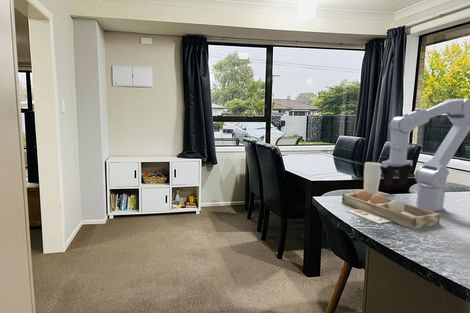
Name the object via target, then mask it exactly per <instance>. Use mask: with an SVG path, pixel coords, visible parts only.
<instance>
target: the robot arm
mask: <svg viewBox="0 0 470 313" xmlns="http://www.w3.org/2000/svg"><path fill="white" fill-rule="evenodd" d="M443 114H446V116H447V117H448V120H449V121H450V122H451V123H452V126H451V128H450V129H449V131H448V133H447V134H446V136H445V138H444V139H443V141H441V142H442V143H441V144H440V145H439V147H438V148H437V150H436V152H435V153H434V154H433V156H432V158H431V159H430V160H428V161H425V162H424V163H422V165H421V166H420V167H418V168H417V169H416V171H415V172H414V179H415V181H416V183H417V185H418V186H417V192H416V193H417V195H416V202H415V203H416V204H411V205H412V206H415V207H418V208H422V209H425V210H429V211H432V212H435V213H436V212H440V211H445V210H446V208H444V203H445V196H446V195H445V194H446V193H445V190H444V188H443V186H445V184H446V182H447V179H448V175H450V171H449V169H448V167H447V166H448V164H449V163H450V161H451V160H452V158H453V157H454V155H455V154H456V152H457V150H458V148H459V147H460V146H461V144H462V143H463V142H464V139H465V138H466V136H467V135H468V134H469V132H470V97H469V98H450V99H447V100H444V101H442V102H440V103H438V104H436V105H434V106H431V107H430V108H427V109H425V108H419V107H416V108H415V109H414V111H411V112H408V113H407V112H406V113H403V114H402V116H395V117H393V118H392V119H391V121H390V123H388V128H389V130H390V136H391V138H390V139H391V140H390V146H389V149H390V150H389V157H388V158H389V159H387V160H383V161H381V166H380V169H381V174H382V175H383V180H384V185H385V186H386V187H392V184H393V180H394V177H395V174H396V171H397V172H398V184H399V185H402V186H405V185H406V183H407V181H408V178H409V177H410V174H411V173H412V172H413V170H414V166H413V163H414V162H413V161H414V160H412V159H411V160H409V159H407V158H408V149H409V148H408V147H409V139H410V133H411V132H412V131H413V130H414V129H415V128H417V127H420V126H423V125H425V124H427V123H429V121H430V119H431V118H435V117H437V116H440V115H443ZM394 167H396V168H394Z"/></svg>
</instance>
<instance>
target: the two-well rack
mask: <svg viewBox="0 0 470 313" xmlns="http://www.w3.org/2000/svg"><path fill="white" fill-rule="evenodd" d="M369 194H370V199H369V200H368V201H367V202H366V201H363V200H360V199H357V192H354V193H353V192H352V193H344V194H342V198H341V204H344V205H346V206H349V207H352V208H355V209H360V210H363V211H366V212H369V213H371V214H374V215H377V216H380V217H382V218H385V219H388V220H391V221H392V223H395V224H398V225H401V226H403V227H406V228H409V229H411V230H417V229H421V228H427V227H432V226H436V225H440V221H441V213H439V212H436V211H435V212H432V211H429V210H425V209H422V208H418V207H415V206H412V205H413V204H408V203H404V202H403V203H404V206H405V207H404V210H403V212H401V213H400V212H397V211H394V210H391V209H389V203H390V202H391V201H392V200H393V199H392V198H387V197H385V196H383V197H384V198H385V203H382V204H372V203H371V197H372V196H373V195H374V194H371V193H369Z"/></svg>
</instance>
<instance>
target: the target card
mask: <svg viewBox="0 0 470 313" xmlns="http://www.w3.org/2000/svg"><path fill="white" fill-rule="evenodd" d="M347 212H348V213H350V214H352V215H355V216H357V217H360V218H363V219H365V220H368V221H369V222H373V223H376V224H378V225H383V224H386V223H391V222H392V221H391V220H388V219H385V218H382V217H380V216H377V215H374V214H371V213H369V212H366V211H363V210H360V209H357V208H355V209H351V210H347ZM392 223H393V222H392Z"/></svg>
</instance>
